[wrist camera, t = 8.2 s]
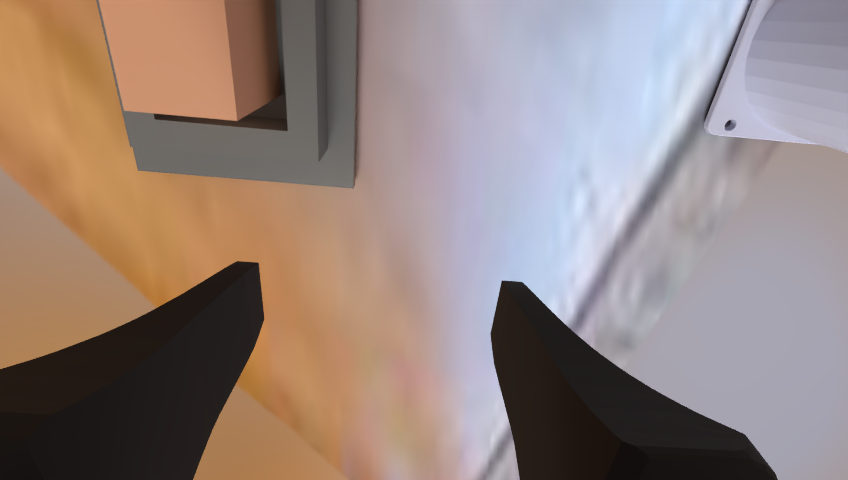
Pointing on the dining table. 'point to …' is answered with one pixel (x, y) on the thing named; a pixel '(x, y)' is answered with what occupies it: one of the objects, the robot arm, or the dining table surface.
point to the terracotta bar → (194, 55)
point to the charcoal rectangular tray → (273, 111)
